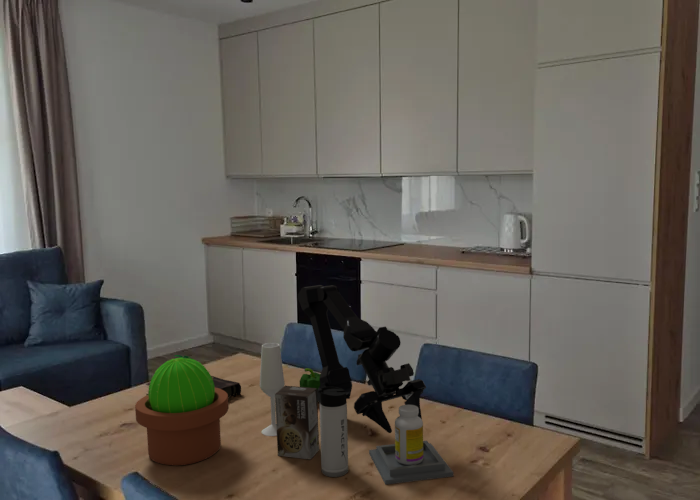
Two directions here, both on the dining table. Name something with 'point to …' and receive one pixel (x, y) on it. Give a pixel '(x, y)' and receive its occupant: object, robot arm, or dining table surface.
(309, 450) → the cookie box
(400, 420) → the supplement bottle
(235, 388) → the diary
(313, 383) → the bell pepper
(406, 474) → the holder board
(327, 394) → the travel mug
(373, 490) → the dining table surface
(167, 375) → the potted cactus
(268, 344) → the champagne flute
